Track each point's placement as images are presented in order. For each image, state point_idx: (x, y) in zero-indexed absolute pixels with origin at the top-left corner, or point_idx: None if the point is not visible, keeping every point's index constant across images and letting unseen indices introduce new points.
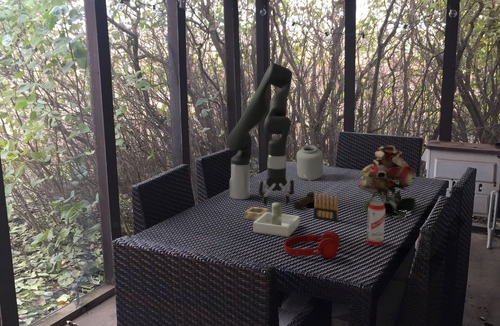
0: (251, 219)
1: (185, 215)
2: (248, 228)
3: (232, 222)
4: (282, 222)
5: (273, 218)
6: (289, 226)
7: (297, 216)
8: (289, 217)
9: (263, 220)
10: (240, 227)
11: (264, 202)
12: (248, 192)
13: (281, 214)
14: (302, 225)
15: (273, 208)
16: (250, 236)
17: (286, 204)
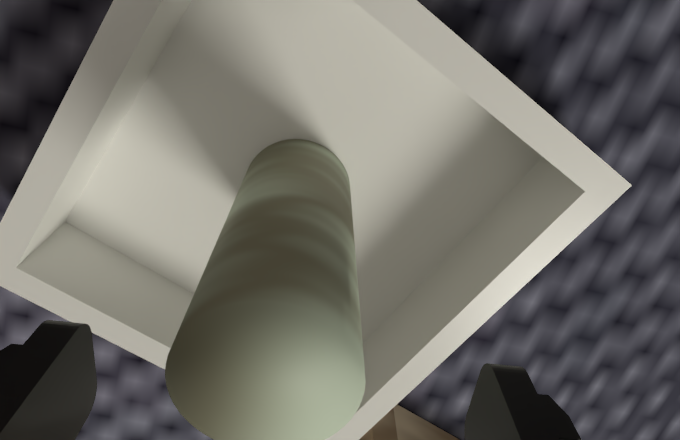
0: (447, 433)
1: None
2: (567, 253)
3: (626, 409)
4: None
5: (345, 216)
6: None
7: (2, 266)
8: (111, 300)
9: (403, 327)
10: (624, 293)
11: (549, 421)
12: None
13: (222, 230)
14: (5, 206)
15: (351, 300)
16: (665, 22)
17: (70, 322)
